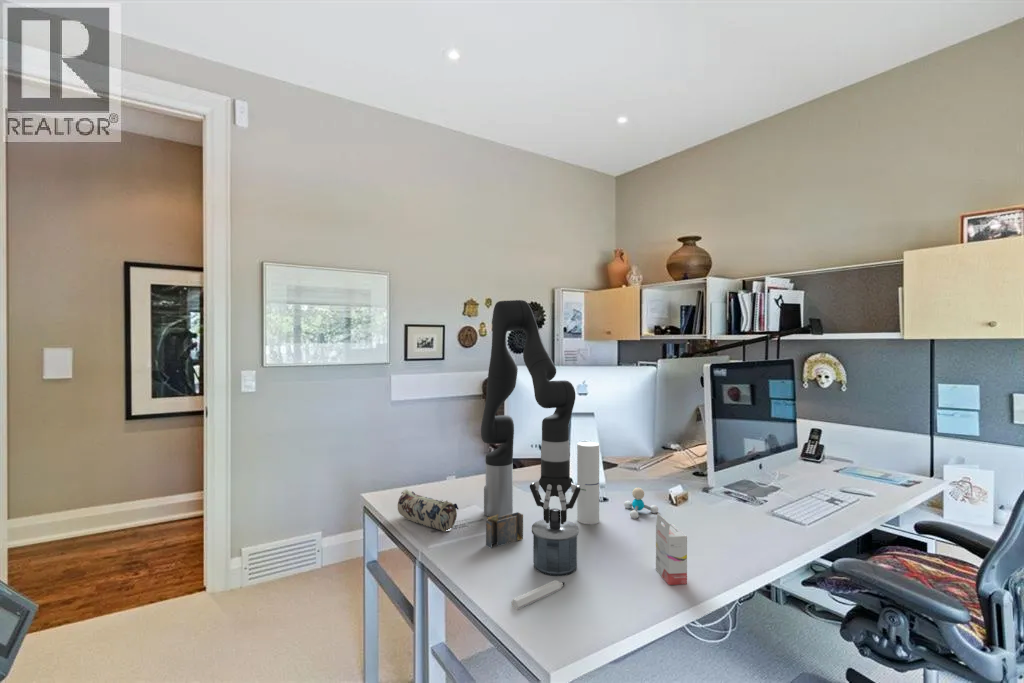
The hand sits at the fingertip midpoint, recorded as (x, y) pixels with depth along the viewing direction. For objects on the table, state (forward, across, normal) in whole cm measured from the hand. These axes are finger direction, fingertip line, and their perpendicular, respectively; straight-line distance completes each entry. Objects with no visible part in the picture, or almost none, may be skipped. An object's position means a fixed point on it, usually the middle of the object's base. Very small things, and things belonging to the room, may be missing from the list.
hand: (555, 522), depth 126 cm
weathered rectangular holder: (+12, -16, +12) cm, 23 cm away
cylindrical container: (+12, +7, +34) cm, 36 cm away
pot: (+11, 0, 0) cm, 11 cm away
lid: (+2, 0, 0) cm, 2 cm away
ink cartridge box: (+12, +29, 0) cm, 31 cm away
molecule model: (+12, +24, +45) cm, 53 cm away
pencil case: (+12, -44, +21) cm, 50 cm away
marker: (+12, -1, -16) cm, 20 cm away
